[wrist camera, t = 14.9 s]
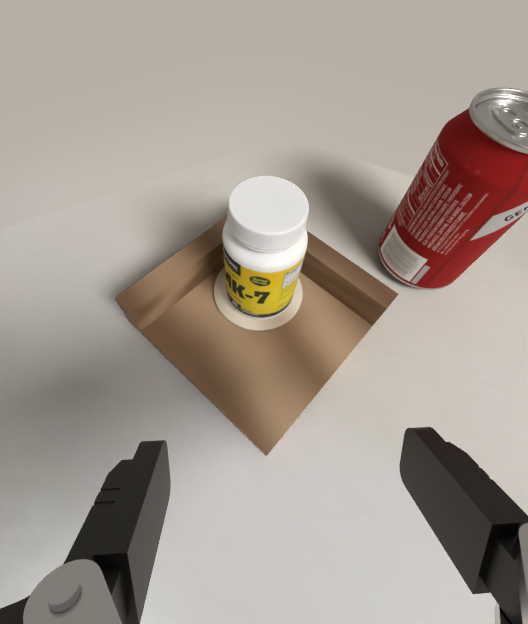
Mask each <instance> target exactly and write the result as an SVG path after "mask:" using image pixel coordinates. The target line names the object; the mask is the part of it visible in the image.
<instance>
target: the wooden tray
mask: <svg viewBox="0 0 528 624" xmlns="http://www.w3.org/2000/svg"><path fill="white" fill-rule="evenodd" d="M226 221H227V217H225V218H224V219H223V220H221V221H220V222H218V223H217V224H216V225H214V226H213V227H212V228H210V229H209V230H207V231H206V232H205V233H203V234H202V235H201V236H199V237H198V238H196V239H195V240H194V241H192V242H191V243H190V244H188V245H187V246H185V247H184V248H183V249H181V250H180V251H179V252H177V253H176V254H174V255H173V256H172V257H170V258H169V259H168V260H166V261H165V262H163V263H162V264H161V265H159V266H158V267H157V268H155V269H154V270H152V271H151V272H150V273H148V274H147V275H146V276H144V277H143V278H141V279H140V280H139V281H137V282H136V283H135V284H133V285H132V286H130V287H129V288H128V289H126V290H125V291H124V292H122V293H121V294H120V295H118V296H117V297H115V300H116V301H117V303H118V304H119V306H120V307H121V308H122V310H123V311H124V313H125V315H126V317H127V318H128V320H129V321H130V322H131V323H132V324H133V325H134V326H135V327H136V328H137V329H138V330H139V331H140V332H141V333H142V334H143V335H144V336H145V337H146V338H147V339H148V340H149V341H150V342H151V343H152V344H153V345H154V346H155V347H156V348H157V349H158V350H159V351H160V352H161V353H162V354H163V355H164V356H165V357H166V358H167V359H168V360H169V361H170V362H171V363H172V364H173V365H174V366H175V367H176V368H178V369H179V370H180V371H181V372H182V373H183V374H184V375H185V376H186V377H187V378H188V379H189V380H190V381H191V382H192V383H193V384H194V385H195V386H196V387H197V388H198V389H199V390H200V391H201V392H202V393H203V394H204V395H205V396H206V397H207V398H208V399H209V400H210V401H211V402H212V403H213V404H214V405H215V406H216V407H217V408H218V409H219V410H220V411H221V412H222V413H223V414H224V415H225V416H226V417H227V418H228V419H229V420H230V421H231V422H232V423H233V424H234V425H235V426H236V427H237V428H238V429H239V430H241V431H242V432H243V433H244V434H245V435H246V436H247V437H248V438H249V439H250V440H251V441H252V442H253V443H254V444H255V445H256V446H257V447H258V448H259V449H260V450H261V451H262V452H263V453H264V454H265V455H266V456H267V454H268V453H269V452H270V451H271V450H272V448H273V447H274V446H275V445H276V443H277V442H278V441H279V440H280V439H281V437H282V436H283V435H284V434H285V432H286V431H287V430H288V429H289V427H290V426H291V425H292V424H293V423H294V421H295V420H296V419H297V418H298V416H299V415H300V414H301V413H302V412H303V410H304V409H305V408H306V407H307V405H308V404H309V403H310V402H311V400H312V399H313V398H314V397H315V396H316V394H317V393H318V392H319V391H320V389H321V388H322V387H323V386H324V385H325V383H326V382H327V381H328V380H329V378H330V377H331V376H332V375H333V373H334V372H335V371H336V370H337V369H338V367H339V366H340V365H341V364H342V362H343V361H344V360H345V359H346V358H347V356H348V355H349V354H350V353H351V351H352V350H353V349H354V348H355V346H356V345H357V344H358V343H359V342H360V340H361V339H362V338H363V337H364V335H365V334H366V333H367V332H368V330H369V329H370V328H371V327H372V326H373V324H374V323H375V322H376V321H377V320H378V318H379V317H380V316H381V315H382V314H383V312H384V311H385V310H386V309H387V308H388V306H389V305H390V304H391V303H392V302H393V300H394V299H395V298H396V297H397V295H398V293H396V292H395V291H393V290H392V289H390V288H389V287H387V286H386V285H385V284H383V283H382V282H380V281H379V280H377V279H376V278H374V277H373V276H372V275H370V274H369V273H367V272H366V271H364V270H363V269H361V268H360V267H359V266H357V265H356V264H354V263H353V262H351V261H350V260H348V259H347V258H346V257H344V256H343V255H341V254H340V253H338V252H337V251H335V250H334V249H333V248H331V247H330V246H328V245H327V244H325V243H324V242H322V241H321V240H319V239H318V238H317V237H315V236H314V235H312V234H311V233H309V232H308V231H307V235H308V243H307V249H306V253H305V256H304V260H303V263H302V266H301V270H300V273H299V277H298V280H297V284H296V287H295V291H294V294H293V297H292V300H291V303H290V304H289V306H288V307H287V309H286V310H285V311H284V312H282V313H281V314H280V315H278V316H276V317H274V318H270V319H266V320H257V319H252V318H249V317H246V316H244V315H242V314H240V313H239V312H237V311H236V310H235V309H234V308H233V307H232V305H231V304H230V302H229V300H228V297H227V292H226V281H225V267H224V255H223V244H222V234H223V228H224V225H225V223H226Z"/></svg>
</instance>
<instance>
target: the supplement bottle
mask: <svg viewBox="0 0 528 624" xmlns="http://www.w3.org/2000/svg"><path fill="white" fill-rule="evenodd" d="M308 212H309V205H308V200H307V198H306V196H305V194H304V193H303V192H302V190H301V189H300V188H299V187H298V186H296V185H295V184H293V183H292V182H290V181H288V180H285V179H283V178H279V177H274V176H256V177H252V178H249V179H246V180H244V181H242V182H240V183H239V184H238V185H237V186H235V187H234V189H233V190H232V191H231V193H230V196H229V199H228V215H227V221H226V223H225V225H224V228H223V234H222V244H223V255H224V267H225V281H226V292H227V297H228V300H229V302H230V304H231V305H232V307H233V308H234V309H235V310H236V311H237V312H239V313H240V314H242V315H244V316H246V317H249V318H252V319H257V320H266V319H270V318H274V317H276V316H278V315H280V314H281V313H282V312H284V311H285V310H286V309H287V307H288V306H289V304H290V303H291V300H292V297H293V294H294V291H295V287H296V284H297V280H298V277H299V273H300V270H301V266H302V263H303V260H304V256H305V253H306V249H307V243H308V235H307V231H306V222H307V217H308Z"/></svg>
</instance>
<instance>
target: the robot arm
mask: <svg viewBox="0 0 528 624" xmlns="http://www.w3.org/2000/svg"><path fill="white" fill-rule="evenodd" d="M400 474H401V478H402V481H403V483H404V485H405V487H406V489H407V490H408V492H409V493H410V495H411V496H412V498H413V500H414V501H415V503H416V504H417V506H418V508H419V509H420V511H421V512H422V514H423V516H424V517H425V519H426V520H427V522H428V524H429V525H430V527H431V528H432V530H433V531H434V533H435V535H436V536H437V538H438V539H439V541H440V543H441V544H442V546H443V547H444V549H445V551H446V552H447V554H448V555H449V557H450V559H451V560H452V562H453V563H454V565H455V566H456V568H457V570H458V571H459V573H460V574H461V576H462V578H463V579H464V581H465V582H466V584H467V586H468V587H469V589H470V590H471V592H472V594H480V593H490V592H491V594H492V595H493V597H494V598H495V600H496V601H497V603H496V606H495V624H528V516H527V515H526V513H525V512H524V511H523V510H522V509H521V508H520V507H519V506H518V505H517V504H516V503H515V502H514V501H513V500H512V499H511V498H510V497H509V496H508V495H507V494H506V493H505V492H504V491H503V490H502V489H501V488H500V487H499V486H498V485H497V484H496V483H495V482H494V481H493V480H491V479H490V478H489V476H488V475H487V474H486V473H485V471H484V470H483V469H482V468H479V465H478V464H477V463H476V462H475V461H474V460H473V459H472V458H471V457H470V456H469V455H468V454H467V453H466V452H464V451H463V450H461V449H460V448H458V447H456V446H455V445H453V444H452V443H450V442H445V441H444V440H443V438H442V437H441V436H440V435H439V434H438V433H437V432H436V431H435V430H434V429H433V428H431V427H420V428H408V429H406V431H405V434H404V441H403V447H402V453H401V460H400ZM169 495H170V471H169V461H168V451H167V443H166V441H165V440H161V441H142V442H141V443H140V444H139V446H138V449H137V451H136V453H135V456H134V458H133V459H132V460H121V461H120V462H119V463H118V464H117V465H116V466H115V467H114V468H113V469H112V470H111V471H110V472H109V473H108V475H107V477H106V480H105V482H104V484H103V486H102V488H101V492H99V494H98V496H97V498H96V500H95V502H94V506H92V508H91V510H90V512H89V514H88V516H87V518H86V520H85V522H84V524H83V526H82V528H81V530H80V532H79V534H78V536H77V538H76V540H75V542H74V544H73V546H72V548H71V550H70V552H69V554H68V556H67V558H66V560H65V562H64V564H63V565H62V566H60V567H58V568H56V569H55V570H54V571H52V572H51V573H50V574H48V575H47V576H46V577H45V578H44V579H43V580H42V581H41V582H40V583H39V584H38V585H37V587H36V588H35V589H34V591H33V592H32V594H31V595H30V596H28V597H27V598H25V599H23V600H21V601H18V602H16V603H14V604H11V605H9V606H6V607H4V608H1V609H0V624H140V620H141V616H142V612H143V608H144V603H145V599H146V595H147V591H148V586H149V582H150V578H151V574H152V569H153V565H154V561H155V557H156V552H157V548H158V544H159V540H160V535H161V531H162V527H163V523H164V518H165V514H166V510H167V506H168V501H169Z"/></svg>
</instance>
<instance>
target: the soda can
mask: <svg viewBox="0 0 528 624" xmlns="http://www.w3.org/2000/svg"><path fill="white" fill-rule="evenodd" d="M527 211H528V92H527V91H522V90H518V89H512V88H493V89H488V90H484V91H482V92H480V93H478V94H477V95H476V97H474V99H473V100H472V102H471V104H470V107H469V108H468V109H467V110H465V111H464V112H462V113H461V114H459V115H457V116H456V117H454V118H453V119H451V120H450V121H449V122H448V123H447V124H446V125H445V126H444V127H443V129H442V131H441V132H440V134H439V136H438V138H437V139H436V141H435V143H434V145H433V146H432V148H431V150H430V152H429V153H428V155H427V157H426V159H425V160H424V162H423V164H422V166H421V167H420V169H419V171H418V173H417V175H416V176H415V178H414V180H413V181H412V183H411V185H410V187H409V188H408V190H407V192H406V194H405V196H404V197H403V199H402V201H401V203H400V204H399V206H398V208H397V210H396V211H395V213H394V215H393V217H392V218H391V220H390V222H389V224H388V225H387V227H386V229H385V231H384V232H383V234H382V236H381V238H380V240H379V244H378V253H379V257H380V259H381V261H382V263H383V265H384V266H385V268H386V269H387V270H388V271H389V272H390V273H391V274H392V275H393V276H394V277H395V278H397V279H398V280H399V281H401V282H403V283H405V284H407V285H409V286H412V287H415V288H419V289H426V290H434V289H440V288H443V287H446V286H448V285H450V284H451V283H452V282H453V281H454V280H456V279H457V278H458V277H459V276H460V275H461V274H462V273H463V272H464V271H465V270H466V269H467V268H468V267H469V266H470V265H471V264H472V263H473V262H475V261H476V260H477V259H478V258H479V257H480V256H481V255H482V254H483V253H484V252H485V251H486V250H487V249H488V248H489V247H490V246H491V245H492V244H494V243H495V242H496V241H497V240H498V239H499V238H500V237H501V236H502V235H503V234H504V233H505V232H506V231H507V230H508V229H509V228H510V227H511V226H513V225H514V224H515V223H516V222H517V221H518V220H519V219H520V218H521V217H522V216H523V215H524V214H525V213H526V212H527Z"/></svg>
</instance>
